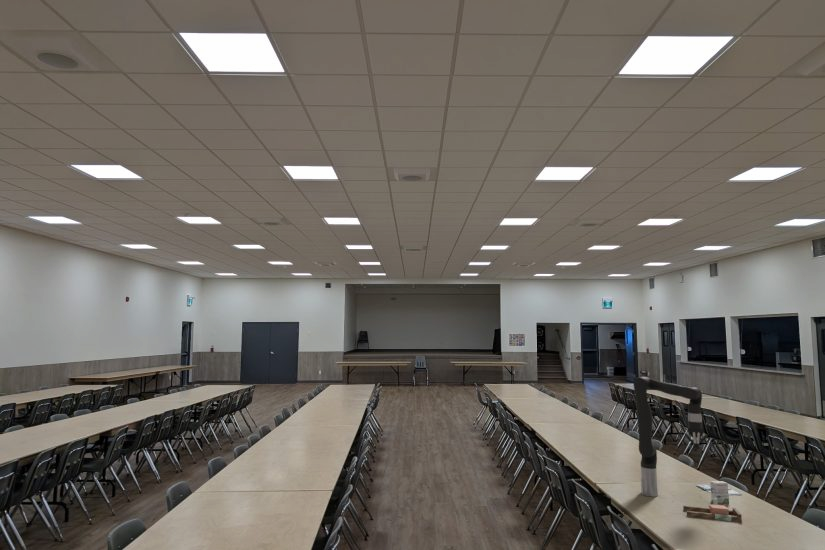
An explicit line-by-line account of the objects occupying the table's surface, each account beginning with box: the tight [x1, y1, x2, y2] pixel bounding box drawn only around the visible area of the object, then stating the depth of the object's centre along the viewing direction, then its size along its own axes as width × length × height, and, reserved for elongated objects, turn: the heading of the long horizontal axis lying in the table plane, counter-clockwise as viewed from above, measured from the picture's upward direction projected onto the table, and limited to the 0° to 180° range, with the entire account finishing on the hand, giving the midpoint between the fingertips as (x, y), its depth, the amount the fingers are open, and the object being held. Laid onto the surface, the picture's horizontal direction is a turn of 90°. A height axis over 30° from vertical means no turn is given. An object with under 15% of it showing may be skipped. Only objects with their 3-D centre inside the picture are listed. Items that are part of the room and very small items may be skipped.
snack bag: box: [695, 484, 742, 496], centre depth 330 cm, size 19×20×2 cm
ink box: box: [709, 480, 730, 504], centre depth 309 cm, size 8×5×12 cm, turn 93°
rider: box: [709, 504, 729, 515], centre depth 283 cm, size 8×6×6 cm
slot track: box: [682, 504, 743, 523], centre depth 284 cm, size 27×11×4 cm, turn 72°
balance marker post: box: [712, 498, 719, 505], centre depth 292 cm, size 2×2×7 cm
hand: (696, 449), depth 302 cm, fingers closed
